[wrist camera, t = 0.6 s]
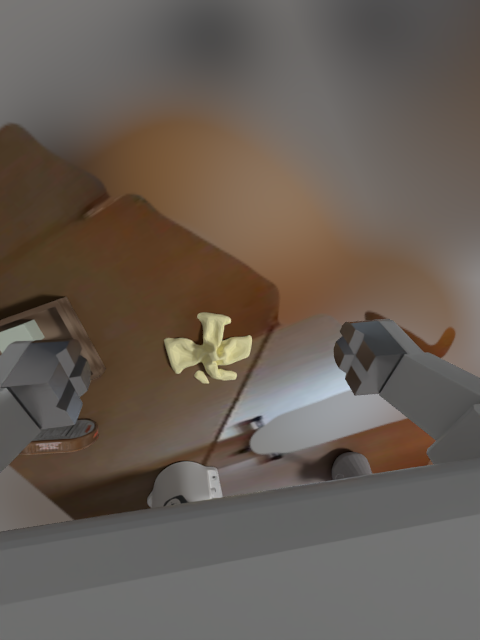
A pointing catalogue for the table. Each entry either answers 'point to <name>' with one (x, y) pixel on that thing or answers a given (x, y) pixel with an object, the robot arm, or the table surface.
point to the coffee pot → (350, 466)
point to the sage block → (20, 334)
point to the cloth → (209, 349)
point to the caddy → (59, 329)
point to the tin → (63, 438)
